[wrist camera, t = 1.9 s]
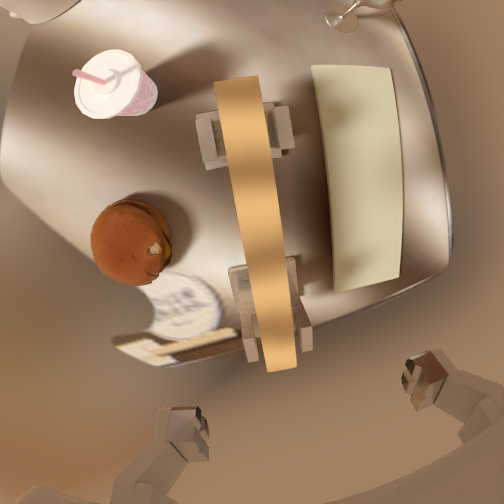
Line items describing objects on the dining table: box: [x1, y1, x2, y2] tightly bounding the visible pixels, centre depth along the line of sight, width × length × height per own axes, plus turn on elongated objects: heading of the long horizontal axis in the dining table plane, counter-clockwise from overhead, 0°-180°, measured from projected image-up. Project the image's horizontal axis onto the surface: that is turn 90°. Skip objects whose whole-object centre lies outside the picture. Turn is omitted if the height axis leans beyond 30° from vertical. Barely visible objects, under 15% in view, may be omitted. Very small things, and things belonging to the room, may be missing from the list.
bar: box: [214, 75, 297, 372], centre depth 23 cm, size 26×3×3 cm, turn 9°
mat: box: [311, 65, 403, 293], centre depth 30 cm, size 28×10×1 cm, turn 9°
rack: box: [195, 102, 313, 362], centre depth 26 cm, size 24×8×12 cm, turn 9°
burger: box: [91, 200, 172, 286], centre depth 29 cm, size 10×9×5 cm
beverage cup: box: [72, 50, 158, 118], centre depth 18 cm, size 6×6×14 cm
